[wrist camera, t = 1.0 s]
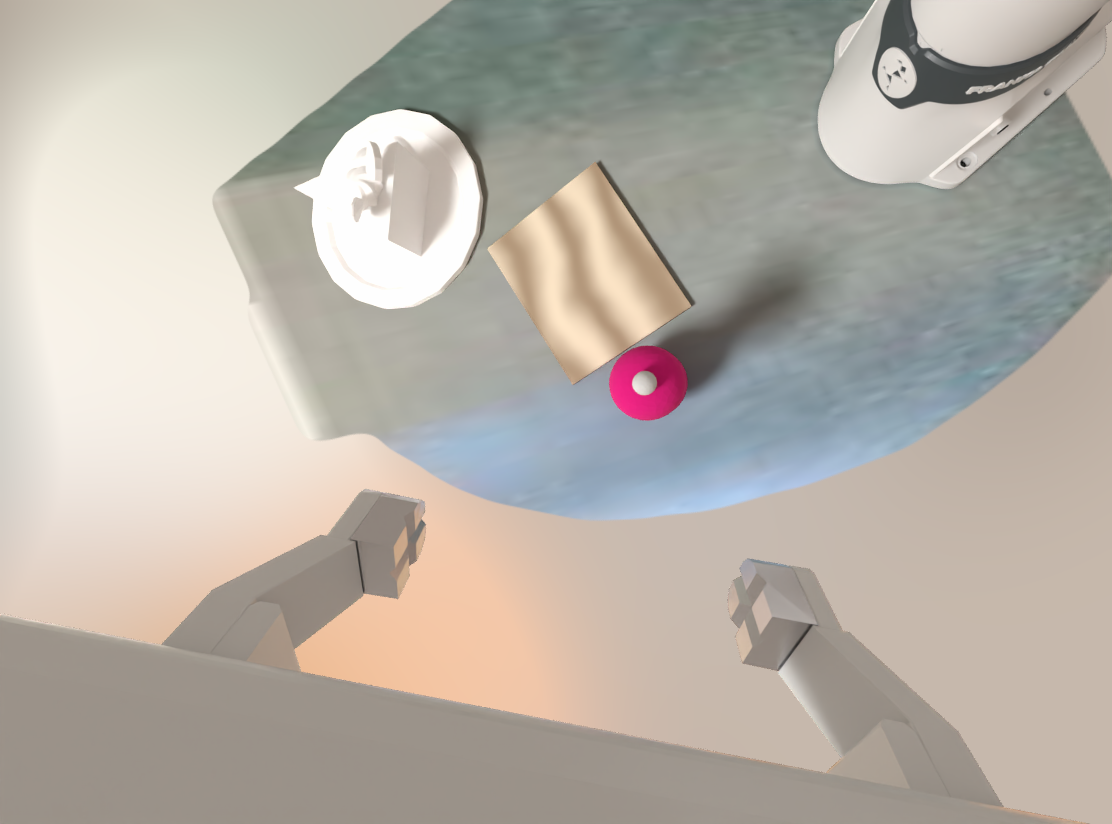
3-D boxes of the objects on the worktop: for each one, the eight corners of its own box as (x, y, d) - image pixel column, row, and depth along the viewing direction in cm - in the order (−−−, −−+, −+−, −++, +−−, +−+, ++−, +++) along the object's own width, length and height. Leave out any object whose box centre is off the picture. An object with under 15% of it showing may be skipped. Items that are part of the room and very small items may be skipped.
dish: (494, 113, 53) (449, 44, 42) (471, 318, 56) (423, 302, 45) (327, 116, 59) (250, 55, 48) (313, 301, 62) (237, 283, 51)
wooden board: (596, 164, 50) (595, 161, 50) (691, 306, 49) (691, 306, 48) (489, 249, 54) (487, 248, 54) (573, 384, 52) (572, 384, 52)
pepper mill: (683, 348, 49) (693, 326, 30) (688, 412, 49) (700, 430, 30) (619, 355, 51) (589, 337, 32) (624, 416, 51) (597, 436, 32)
